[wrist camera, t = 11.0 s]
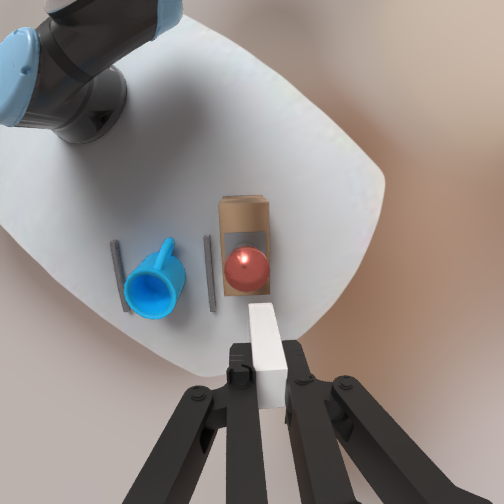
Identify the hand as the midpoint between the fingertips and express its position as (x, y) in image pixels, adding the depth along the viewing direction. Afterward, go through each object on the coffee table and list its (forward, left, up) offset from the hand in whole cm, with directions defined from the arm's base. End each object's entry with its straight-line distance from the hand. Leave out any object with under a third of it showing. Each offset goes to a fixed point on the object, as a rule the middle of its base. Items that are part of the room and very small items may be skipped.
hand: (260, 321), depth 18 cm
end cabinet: (+1, -1, -28) cm, 28 cm away
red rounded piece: (+1, -1, -17) cm, 17 cm away
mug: (+5, -14, -28) cm, 32 cm away
